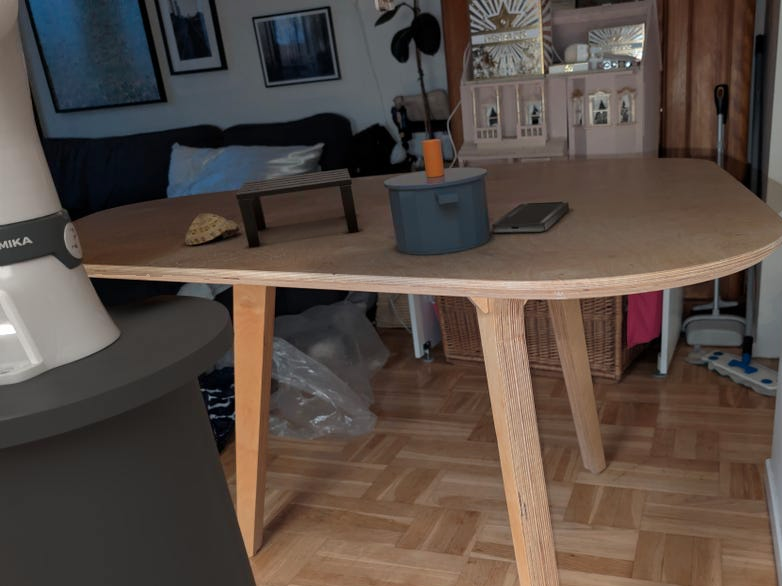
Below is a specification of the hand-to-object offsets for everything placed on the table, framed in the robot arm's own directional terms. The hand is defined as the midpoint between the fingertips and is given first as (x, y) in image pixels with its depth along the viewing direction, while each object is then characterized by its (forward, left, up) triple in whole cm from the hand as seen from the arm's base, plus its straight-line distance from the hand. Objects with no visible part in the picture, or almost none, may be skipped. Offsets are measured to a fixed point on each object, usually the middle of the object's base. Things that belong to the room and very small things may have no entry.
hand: (415, 5), depth 79 cm
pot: (+1, +6, -29) cm, 29 cm away
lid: (+1, +6, -20) cm, 21 cm away
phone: (+15, +11, -29) cm, 34 cm away
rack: (-18, +30, -29) cm, 45 cm away
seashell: (-33, +34, -29) cm, 55 cm away
